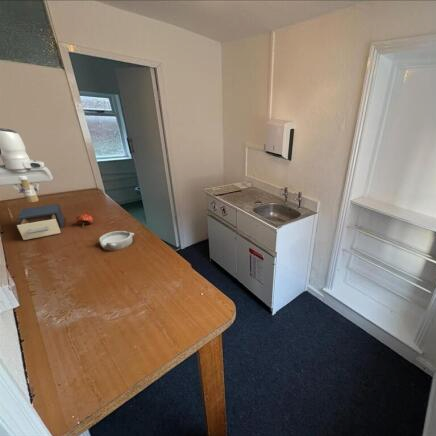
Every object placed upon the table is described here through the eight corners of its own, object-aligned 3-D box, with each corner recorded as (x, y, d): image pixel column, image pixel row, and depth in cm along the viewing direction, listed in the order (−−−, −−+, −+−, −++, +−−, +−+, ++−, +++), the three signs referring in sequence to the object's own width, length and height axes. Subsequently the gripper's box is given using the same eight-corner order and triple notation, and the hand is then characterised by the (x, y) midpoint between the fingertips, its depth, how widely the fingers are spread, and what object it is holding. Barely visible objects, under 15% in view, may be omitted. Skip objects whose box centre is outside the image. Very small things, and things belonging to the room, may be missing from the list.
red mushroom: (93, 229, 135) (98, 215, 140) (82, 224, 129) (89, 208, 133) (80, 230, 135) (86, 216, 140) (69, 225, 129) (76, 209, 133)
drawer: (60, 236, 121) (54, 222, 118) (22, 243, 113) (15, 229, 109) (61, 223, 134) (56, 211, 131) (27, 229, 126) (21, 216, 123)
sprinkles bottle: (24, 202, 117) (12, 176, 112) (31, 199, 121) (21, 174, 116) (34, 202, 118) (24, 176, 113) (41, 199, 122) (32, 174, 117)
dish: (117, 253, 110) (114, 244, 108) (93, 249, 112) (90, 240, 110) (141, 239, 123) (139, 231, 121) (119, 236, 125) (116, 228, 123)
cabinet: (63, 227, 131) (57, 211, 128) (25, 234, 122) (17, 217, 119) (64, 218, 142) (58, 203, 139) (29, 224, 133) (22, 208, 130)
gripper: (-18, 167, 104) (-4, 196, 109) (46, 163, 116) (56, 190, 121) (-14, 164, 108) (-1, 193, 113) (47, 161, 120) (57, 187, 126)
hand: (29, 191), depth 117 cm, fingers closed on sprinkles bottle, 4 cm apart
